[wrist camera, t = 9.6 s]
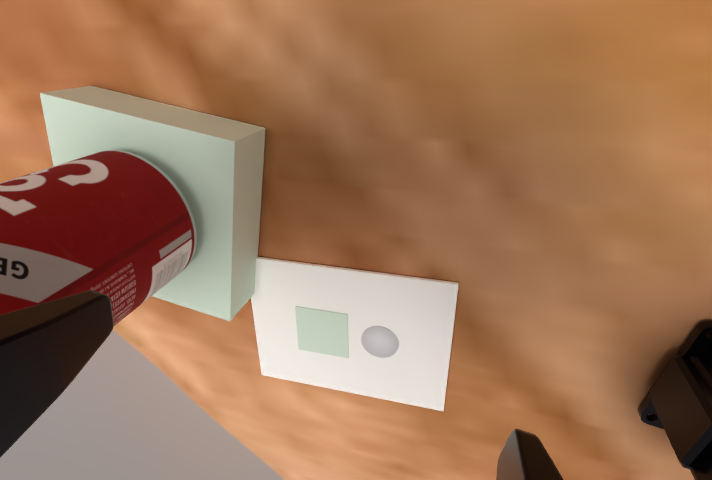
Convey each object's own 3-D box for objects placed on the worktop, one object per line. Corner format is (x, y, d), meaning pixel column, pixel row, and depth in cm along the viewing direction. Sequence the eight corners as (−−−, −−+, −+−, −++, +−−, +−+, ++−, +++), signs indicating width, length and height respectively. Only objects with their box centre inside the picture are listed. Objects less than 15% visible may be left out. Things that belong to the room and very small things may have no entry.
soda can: (231, 236, 20) (-31, 450, 10) (152, 290, 23) (-111, 497, 13) (135, 117, 19) (-290, 221, 8) (64, 191, 22) (-313, 335, 12)
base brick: (265, 127, 21) (234, 141, 18) (255, 291, 26) (230, 321, 23) (91, 85, 22) (39, 93, 20) (112, 247, 27) (73, 270, 24)
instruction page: (458, 282, 22) (458, 285, 21) (443, 408, 26) (443, 412, 25) (246, 255, 24) (244, 257, 24) (262, 372, 28) (260, 375, 28)
